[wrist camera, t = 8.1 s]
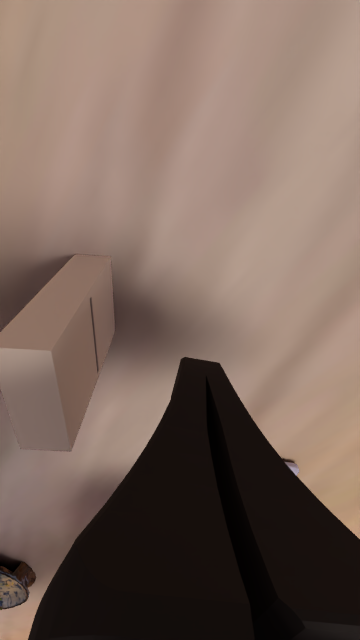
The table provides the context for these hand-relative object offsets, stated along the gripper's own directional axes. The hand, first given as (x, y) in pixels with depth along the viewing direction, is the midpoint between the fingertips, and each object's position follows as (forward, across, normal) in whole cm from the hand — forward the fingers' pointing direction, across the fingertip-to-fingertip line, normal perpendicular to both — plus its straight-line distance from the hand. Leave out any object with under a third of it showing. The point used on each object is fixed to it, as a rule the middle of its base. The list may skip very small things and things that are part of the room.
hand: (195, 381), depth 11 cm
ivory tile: (+5, +5, 0) cm, 7 cm away
